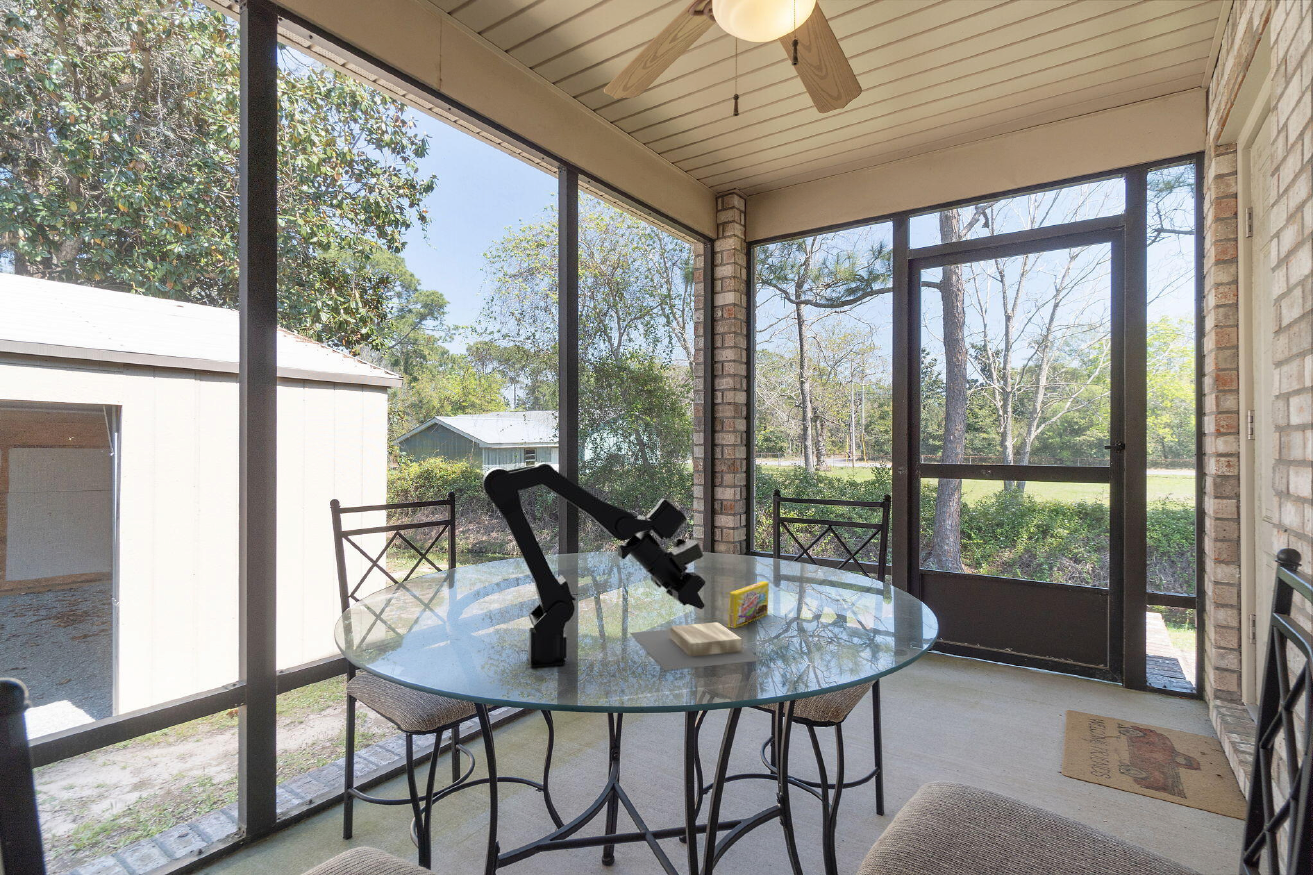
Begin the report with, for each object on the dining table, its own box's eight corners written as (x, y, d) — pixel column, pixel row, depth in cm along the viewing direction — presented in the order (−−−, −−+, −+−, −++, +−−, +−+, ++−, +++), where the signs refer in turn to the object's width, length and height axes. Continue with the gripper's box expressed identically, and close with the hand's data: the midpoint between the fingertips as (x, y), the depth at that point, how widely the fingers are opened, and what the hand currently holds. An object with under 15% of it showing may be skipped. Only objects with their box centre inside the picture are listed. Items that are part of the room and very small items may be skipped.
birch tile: (690, 643, 126) (741, 638, 129) (670, 626, 137) (717, 622, 140) (690, 656, 126) (741, 650, 129) (670, 638, 137) (717, 633, 140)
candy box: (735, 630, 144) (736, 593, 144) (727, 628, 146) (727, 592, 146) (769, 615, 157) (769, 581, 157) (761, 613, 159) (761, 580, 159)
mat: (664, 672, 118) (664, 670, 118) (629, 634, 140) (629, 632, 140) (762, 661, 124) (762, 660, 124) (713, 626, 147) (713, 625, 147)
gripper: (696, 534, 122) (747, 588, 126) (664, 521, 140) (710, 569, 144) (656, 577, 120) (710, 631, 123) (629, 559, 138) (677, 607, 141)
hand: (702, 607), depth 133 cm, fingers closed
